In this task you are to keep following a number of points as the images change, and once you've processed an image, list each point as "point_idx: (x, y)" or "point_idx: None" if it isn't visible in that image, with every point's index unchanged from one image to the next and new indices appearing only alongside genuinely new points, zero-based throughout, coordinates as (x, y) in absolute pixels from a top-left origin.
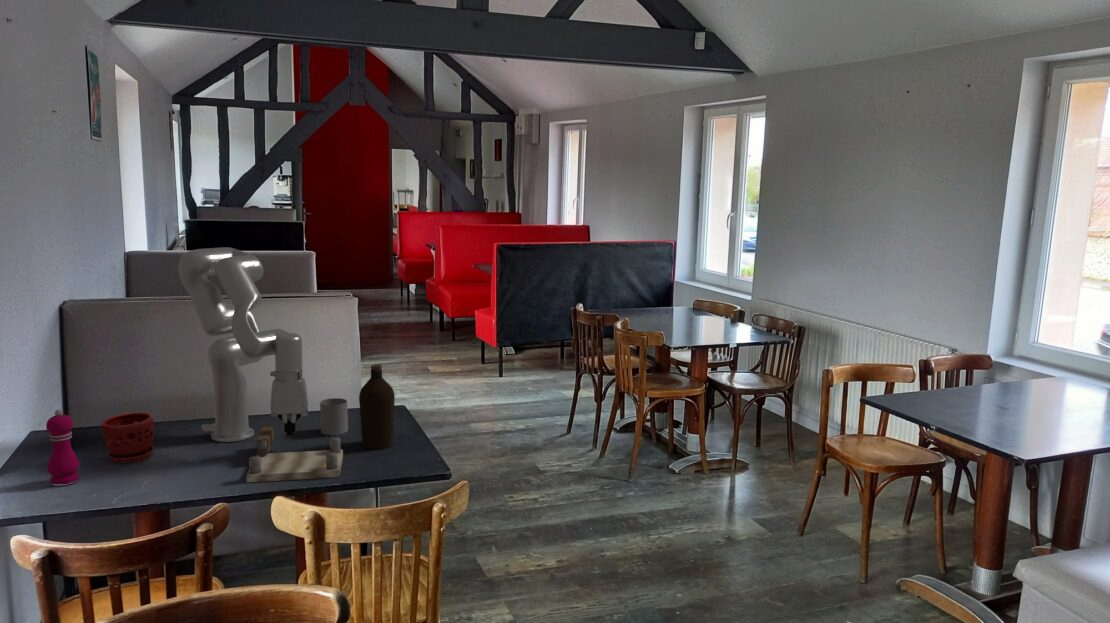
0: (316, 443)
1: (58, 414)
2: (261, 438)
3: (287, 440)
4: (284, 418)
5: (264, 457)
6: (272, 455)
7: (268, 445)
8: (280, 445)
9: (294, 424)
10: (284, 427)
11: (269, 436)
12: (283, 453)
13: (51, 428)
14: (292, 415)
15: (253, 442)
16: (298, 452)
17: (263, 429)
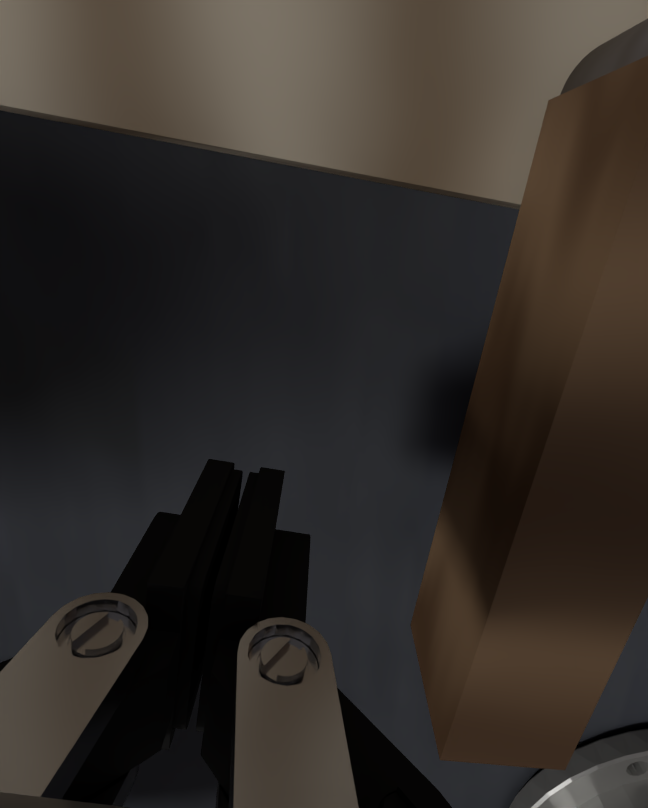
0: (40, 539)
1: None
2: None
3: None
4: (292, 722)
5: (601, 35)
6: (489, 91)
7: (593, 116)
8: (345, 574)
9: (116, 590)
10: (306, 580)
11: (579, 327)
12: (346, 131)
13: None
14: (41, 778)
15: None
16: (152, 101)
17: (589, 657)
